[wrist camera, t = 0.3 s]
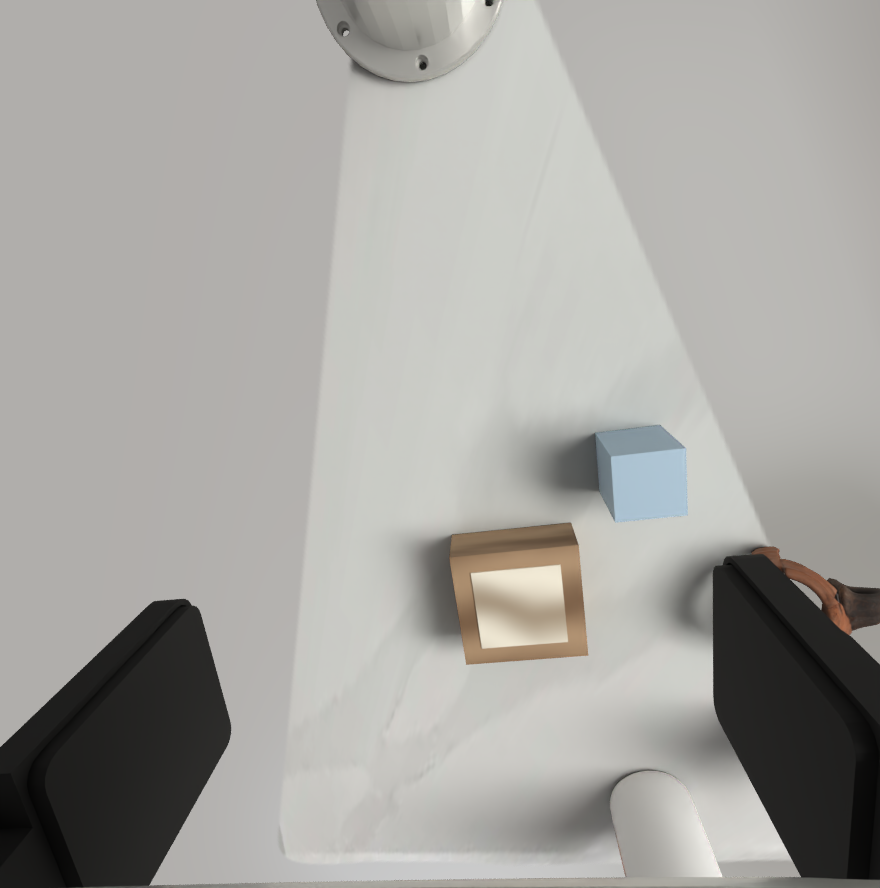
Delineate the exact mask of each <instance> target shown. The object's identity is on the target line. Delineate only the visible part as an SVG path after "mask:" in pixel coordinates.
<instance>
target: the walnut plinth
mask: <svg viewBox="0 0 880 888" xmlns="http://www.w3.org/2000/svg"><path fill="white" fill-rule="evenodd" d="M449 559H450V566H451V572H452V578H453V584H454V591H455V597H456V603H457V609H458V616H459V622H460V628H461V634H462V641H463V647H464V653H465V659H466V665H467V664H481V663H494V662H507V661H521V660H534V659H547V658H561V657H574V656H587V655H588V647H587V636H586V625H585V613H584V602H583V591H582V579H581V568H580V556H579V545H578V542H577V539H576V536H575V533H574V530H573V527H572V524H571V523H563V524H554V525H544V526H534V527H524V528H514V529H504V530H495V531H485V532H475V533H465V534H455V535H452V539H451V547H450V555H449Z"/></svg>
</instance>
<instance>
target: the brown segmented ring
mask: <svg viewBox="0 0 880 888" xmlns="http://www.w3.org/2000/svg"><path fill="white" fill-rule="evenodd" d="M753 554H764V555H765V556H767V557H768V558H769V559H770V560H771V561H772V562H773V563H774V564H775V565H776V566H777V567H778V568H779V569H780V570H781V571H782V572H783V573H784V574H785V575H786V576H787V577H788V578H789V579H792V580H795V581H798V582H800V583H802V584H804V585H806V586H807V587H809V588H810V589H811V590H812V591H814V592H815V593H816V594H817V596H818V597H819V598H820V600H821V601H822V603H823V604H822V610H821V611H822V612H823V613H824V614H825V615H826V616H828V617H829V618H830V619H831V620H832V621H833V622H834V623H835V624H836V625H837V626H838V627H839V628H840V629H841V630H842V631H844V632H845V633H847V634H848V635H850V634H851V632H852V631H853V630H856V629H858V628H862V627H867V626H872V625H877V624H879V623H880V589H879V588H863V587H850V586H846V585H844V584H842V583H840V582H838V581H837V580H835V579H831V578H829V579H828V580H827V581H826V580H825V579H824V578H822V577H821V576H820V575H819V574H817V573H816V572H813V571H812V570H810V569H808V568H807V567H805V566H803V565H801V564H799V563H796V562H793V561H790V560H786V559H780V556H779V549H777V548H776V547H763V548H758V549H755V550H754V551H753V552H752V555H753Z"/></svg>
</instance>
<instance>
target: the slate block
mask: <svg viewBox="0 0 880 888" xmlns="http://www.w3.org/2000/svg"><path fill="white" fill-rule="evenodd" d="M595 439H596V452H597V466H598V479H599V492H600V494H601V496H602V497H603V499H604V501H605V503H606V505H607V507H608V509H609V511H610V513H611V515H612V517H613V519H614V521H615V522H625V521H635V520H645V519H655V518H665V517H675V516H685V515H688V506H687V469H686V448H685V447H684V446H683V445H682V444H681V443H680V442H679V441H678V440H676V439H675V438H674V437H673V436H672V435H671V434H670V433H669V432H667V431H666V430H665V429H664V428H663V427H662V426H661V425H657V426H648V427H640V428H632V429H623V430H615V431H606V432H598V433H595Z"/></svg>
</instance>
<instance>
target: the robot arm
mask: <svg viewBox="0 0 880 888" xmlns="http://www.w3.org/2000/svg"><path fill="white" fill-rule="evenodd" d="M316 1H317V5H318V8H319V10H320V12H321V15H322V17H323V19H324V21H325V23H326V26H327V27H328V29H329V31H330V32H331V34H332V35H333V37H334V39H335V40H336V41H337V42H338V44H339V45H340V46H341V47H342V49H343V50H344V51H345V52H346V54H347V55H348V56H349V57H351V58H352V59H353V60H354V61H355V62H357V63H358V64H359V65H360V66H361V67H363V68H365V69H366V70H368V71H370V72H372V73H374V74H375V75H377V76H380V77H384V78H387V79H390V80H393V81H403V82H417V81H424V80H430V79H433V78H435V77H438V76H441V75H444V74H446V73H448V72H450V71H451V70H453V69H454V68H456V67H458V66H459V65H461V64H462V63H463V62H465V61H466V60H467V59H468V58H469V57H470V56H471V55H472V54H473V53H474V52H475V51H476V50H477V49H478V48H479V46H480V45H481V44H482V42H483V41H484V40H485V38H486V37H487V36H488V34H489V32H490V30H491V29H492V27H493V25H494V23H495V21H496V19H497V17H498V15H499V11H500V8H501V5H502V2H503V0H490V1H492V2H493V5H492V6H490V7H489V6H486V5H485V3H486V1H488V0H316ZM346 30H348V31H349V34H348V35H347V36H345V37H343V33H344V31H346ZM422 63H425V64H426V65H427V67H426V69H425V70H421V69H420V65H421V64H422ZM713 697H714V706H715V710H716V714H717V717H718V720H719V722H720V724H721V726H722V728H723V730H724V732H725V733H726V735H727V737H728V739H729V741H730V743H731V745H732V747H733V749H734V751H735V752H736V754H737V756H738V758H739V760H740V762H741V764H742V766H743V768H744V770H745V771H746V773H747V775H748V777H749V779H750V781H751V783H752V785H753V787H754V788H755V790H756V792H757V794H758V796H759V798H760V800H761V802H762V804H763V806H764V807H765V809H766V811H767V813H768V815H769V817H770V819H771V821H772V823H773V825H774V826H775V828H776V830H777V832H778V834H779V836H780V838H781V840H782V842H783V843H784V845H785V847H786V849H787V851H788V853H789V855H790V857H791V859H792V861H793V862H794V864H795V866H796V868H797V870H798V872H799V874H800V876H801V877H624V878H623V877H622V878H621V877H619V878H533V879H453V880H400V881H399V880H396V881H395V880H394V881H340V882H339V881H338V882H286V883H239V884H196V885H157V886H149V885H150V883H151V881H152V879H153V878H154V876H155V874H156V872H157V870H158V869H159V867H160V865H161V863H162V862H163V860H164V858H165V856H166V854H167V852H168V851H169V849H170V847H171V845H172V844H173V842H174V840H175V838H176V836H177V835H178V833H179V831H180V829H181V827H182V826H183V824H184V822H185V820H186V819H187V817H188V815H189V813H190V811H191V809H192V808H193V806H194V804H195V803H196V801H197V799H198V797H199V795H200V794H201V792H202V790H203V788H204V786H205V785H206V783H207V781H208V779H209V778H210V776H211V774H212V772H213V770H214V769H215V767H216V765H217V763H218V761H219V759H220V758H221V756H222V754H223V753H224V751H225V749H226V747H227V745H228V743H229V740H230V735H231V723H230V719H229V715H228V711H227V708H226V704H225V701H224V697H223V693H222V689H221V686H220V682H219V679H218V675H217V671H216V668H215V664H214V660H213V657H212V653H211V650H210V646H209V642H208V639H207V635H206V632H205V628H204V624H203V620H202V617H201V614H200V611H199V609H198V608H197V607H195V606H192V605H191V604H190V602H189V601H188V600H186V599H176V600H164V601H154V602H152V603H151V604H150V605H149V606H148V607H146V608H145V609H144V610H143V611H142V612H141V613H140V614H139V615H138V616H137V617H136V618H135V619H134V620H133V621H132V622H131V623H130V624H129V625H128V626H127V627H125V628H124V630H122V631H121V632H120V634H118V635H117V636H116V637H115V638H114V639H113V640H112V641H111V642H110V643H109V644H108V645H107V646H106V647H105V648H104V649H103V650H101V652H99V653H98V654H97V656H95V657H94V658H93V659H92V660H91V661H90V662H89V663H88V664H87V665H86V666H85V667H84V668H83V669H82V670H81V671H80V672H78V673H77V675H75V676H74V677H73V678H72V679H71V680H70V681H69V682H68V683H67V684H66V685H65V686H64V687H63V688H62V689H61V690H60V691H59V692H58V693H57V694H56V695H54V696H53V697H52V698H51V699H50V700H49V701H48V702H47V703H46V704H45V705H44V706H43V707H42V708H41V709H40V710H39V711H38V712H37V713H36V714H35V715H34V716H32V717H31V718H30V719H29V720H28V721H27V722H26V723H25V724H24V725H23V726H22V727H21V728H20V729H19V730H18V731H17V732H16V733H15V734H14V735H13V736H12V737H11V738H9V739H8V740H7V741H6V742H5V743H4V744H3V745H2V746H1V747H0V888H880V664H879V663H877V661H875V660H874V659H873V658H872V657H871V656H870V655H869V654H868V653H867V652H866V651H865V650H864V649H863V648H862V647H861V646H860V645H859V644H858V643H857V642H856V641H855V640H854V639H853V638H852V637H851V636H849V635H848V634H847V633H845V632H844V631H842V630H841V629H840V628H839V627H838V626H837V625H836V624H835V623H834V622H833V621H832V620H831V619H830V618H829V617H828V616H826V615H825V614H824V613H823V612H822V611H821V610H820V609H819V608H818V607H817V606H816V605H815V604H814V603H813V602H812V601H811V600H810V599H809V598H808V597H807V596H806V595H805V594H804V593H803V592H802V591H801V590H800V589H799V588H798V587H797V586H796V585H795V584H794V583H793V582H792V581H791V580H790V579H789V578H788V577H787V576H786V575H785V574H784V573H783V572H782V571H781V570H780V569H779V568H778V567H777V566H776V565H775V564H774V563H773V562H772V561H771V560H770V559H769V558H768V557H767V556H765V555H764V554H753V555H740V556H727V557H726V558H725V559H724V562H723V565H722V566H715V567H714V570H713Z"/></svg>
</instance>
